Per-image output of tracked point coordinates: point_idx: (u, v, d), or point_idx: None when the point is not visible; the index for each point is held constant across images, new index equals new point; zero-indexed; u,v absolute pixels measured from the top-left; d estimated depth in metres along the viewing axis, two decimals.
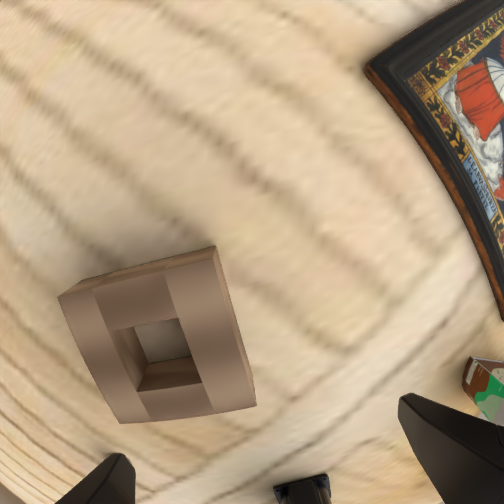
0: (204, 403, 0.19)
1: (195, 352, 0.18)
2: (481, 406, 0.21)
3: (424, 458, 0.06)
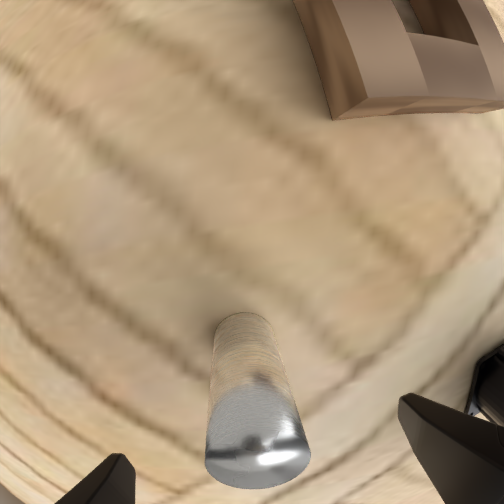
0: (486, 77, 0.09)
1: (464, 8, 0.08)
2: None
3: (424, 458, 0.06)
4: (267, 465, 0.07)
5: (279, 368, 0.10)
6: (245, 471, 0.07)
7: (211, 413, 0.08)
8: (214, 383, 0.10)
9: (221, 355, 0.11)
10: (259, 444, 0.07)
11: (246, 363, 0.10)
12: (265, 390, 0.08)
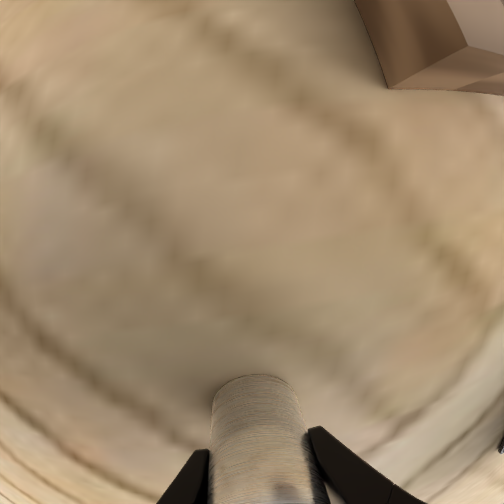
0: None
1: None
2: None
3: None
4: None
5: (317, 484, 0.05)
6: None
7: None
8: None
9: (223, 459, 0.06)
10: None
11: (266, 489, 0.05)
12: None
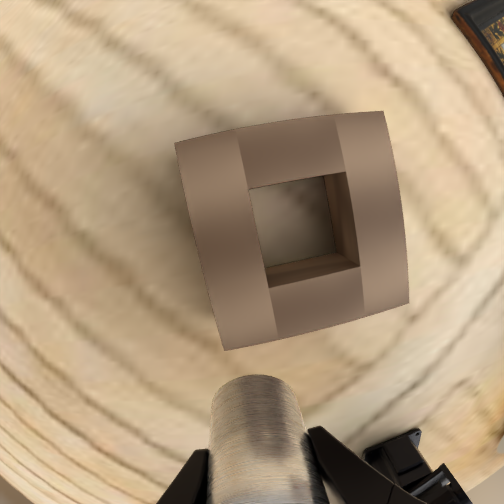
0: (356, 300, 0.16)
1: (359, 220, 0.15)
2: None
3: None
4: None
5: (316, 484, 0.05)
6: None
7: None
8: None
9: (222, 459, 0.06)
10: None
11: (264, 489, 0.05)
12: None
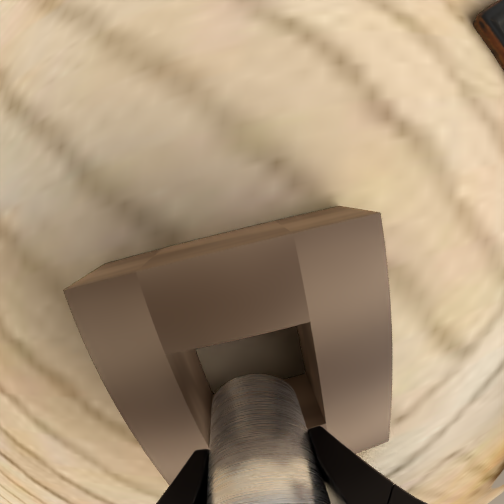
0: None
1: (327, 379, 0.10)
2: None
3: None
4: None
5: (317, 484, 0.05)
6: None
7: None
8: None
9: (223, 458, 0.06)
10: None
11: (265, 489, 0.05)
12: None
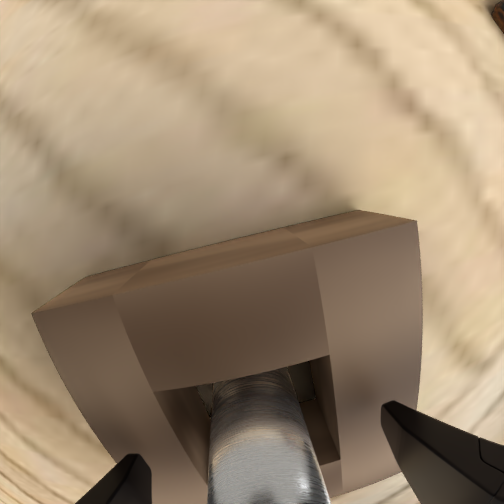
0: (331, 485, 0.09)
1: (345, 415, 0.08)
2: None
3: (405, 467, 0.06)
4: None
5: (298, 419, 0.08)
6: None
7: (212, 484, 0.05)
8: (215, 439, 0.07)
9: (223, 399, 0.08)
10: None
11: (256, 416, 0.07)
12: (284, 458, 0.06)
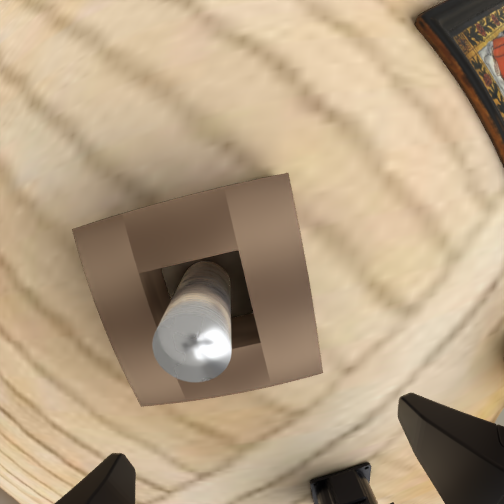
0: (259, 372, 0.16)
1: (256, 299, 0.15)
2: None
3: (424, 458, 0.06)
4: (198, 353, 0.11)
5: (221, 292, 0.14)
6: (182, 359, 0.11)
7: (163, 315, 0.12)
8: None
9: (180, 284, 0.15)
10: (189, 329, 0.11)
11: (194, 285, 0.14)
12: (203, 298, 0.12)
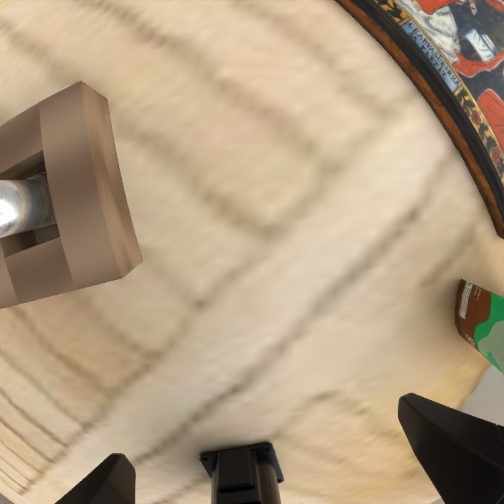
0: (63, 271, 0.14)
1: (54, 192, 0.13)
2: (485, 346, 0.17)
3: (424, 458, 0.06)
4: None
5: (28, 186, 0.13)
6: None
7: None
8: None
9: None
10: None
11: (11, 180, 0.12)
12: (0, 180, 0.11)
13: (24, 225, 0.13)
